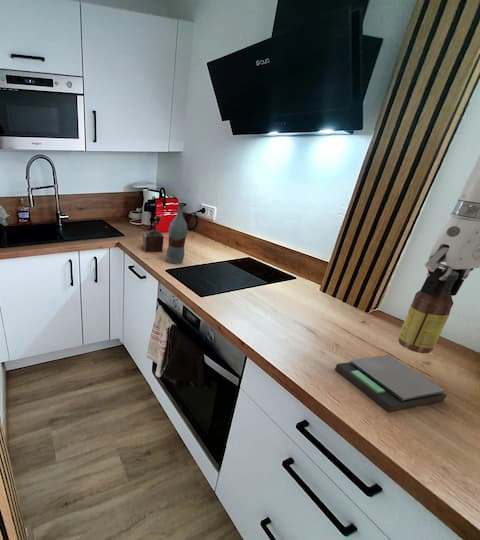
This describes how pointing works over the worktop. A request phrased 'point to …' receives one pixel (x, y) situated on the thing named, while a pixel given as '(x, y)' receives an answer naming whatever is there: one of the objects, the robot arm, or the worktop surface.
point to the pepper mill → (153, 239)
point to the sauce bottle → (427, 318)
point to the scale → (382, 390)
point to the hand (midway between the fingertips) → (437, 292)
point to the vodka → (177, 238)
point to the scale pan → (396, 377)
